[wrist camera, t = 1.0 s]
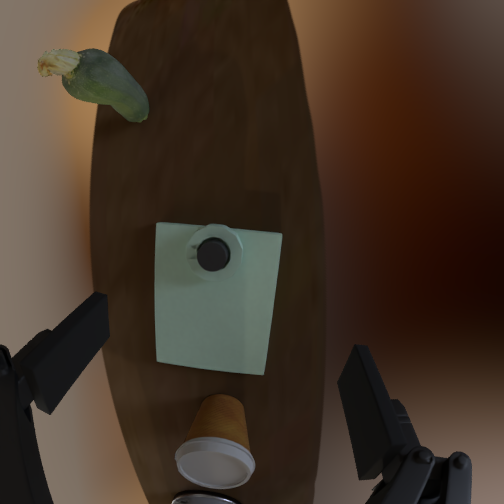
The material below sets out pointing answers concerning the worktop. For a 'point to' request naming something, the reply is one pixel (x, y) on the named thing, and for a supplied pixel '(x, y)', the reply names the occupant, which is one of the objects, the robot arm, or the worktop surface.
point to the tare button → (212, 255)
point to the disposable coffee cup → (217, 445)
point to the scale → (214, 298)
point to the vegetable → (97, 80)
